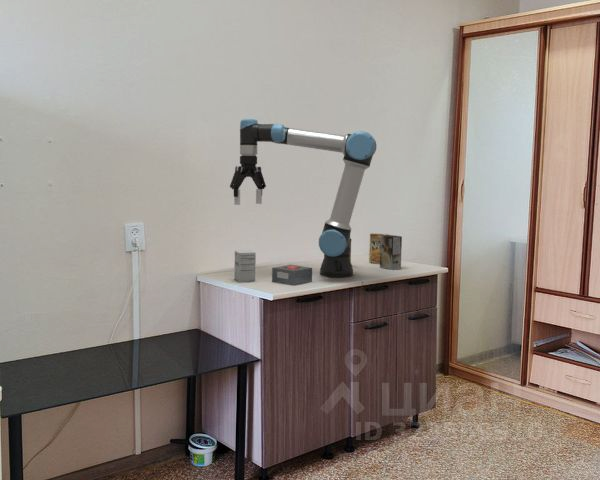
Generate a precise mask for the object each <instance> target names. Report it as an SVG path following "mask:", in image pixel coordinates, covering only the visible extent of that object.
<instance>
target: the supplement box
mask: <svg viewBox="0 0 600 480" xmlns="http://www.w3.org/2000/svg"><path fill="white" fill-rule="evenodd" d="M256 255H257V254H256V251H252V250H250V249H245V250H243V249H242V250H234V280H235V281H236V282H238V283H255V282H256V262H257V261H256Z"/></svg>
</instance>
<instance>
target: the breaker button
mask: <svg viewBox="0 0 600 480" xmlns="http://www.w3.org/2000/svg"><path fill="white" fill-rule="evenodd" d="M298 266H299V265H296V266H287V268H288V269H297V268H298Z"/></svg>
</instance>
